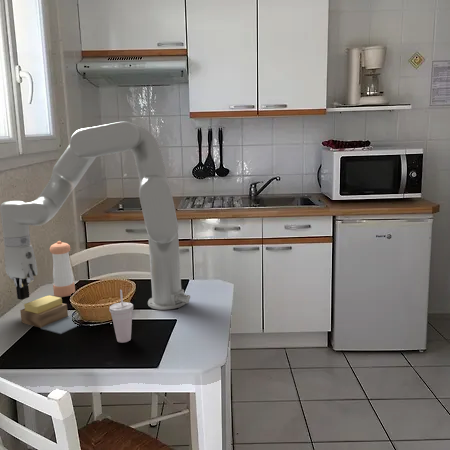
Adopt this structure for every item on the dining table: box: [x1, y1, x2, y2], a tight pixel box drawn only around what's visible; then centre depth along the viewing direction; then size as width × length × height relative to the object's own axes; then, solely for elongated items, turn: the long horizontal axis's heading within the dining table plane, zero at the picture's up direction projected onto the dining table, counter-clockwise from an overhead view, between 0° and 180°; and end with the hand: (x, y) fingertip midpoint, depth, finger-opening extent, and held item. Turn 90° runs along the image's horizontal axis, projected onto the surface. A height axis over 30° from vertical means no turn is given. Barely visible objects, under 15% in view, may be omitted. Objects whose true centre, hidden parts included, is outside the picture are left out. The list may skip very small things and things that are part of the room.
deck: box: [19, 302, 69, 329], centre depth 151 cm, size 9×10×4 cm
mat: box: [40, 314, 80, 335], centre depth 147 cm, size 9×11×1 cm
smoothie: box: [108, 289, 134, 344], centre depth 134 cm, size 6×6×14 cm
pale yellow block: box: [23, 295, 63, 314], centre depth 151 cm, size 9×6×2 cm, turn 148°
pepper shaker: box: [49, 240, 76, 298], centre depth 174 cm, size 7×7×19 cm
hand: (23, 298), depth 155 cm, fingers closed
